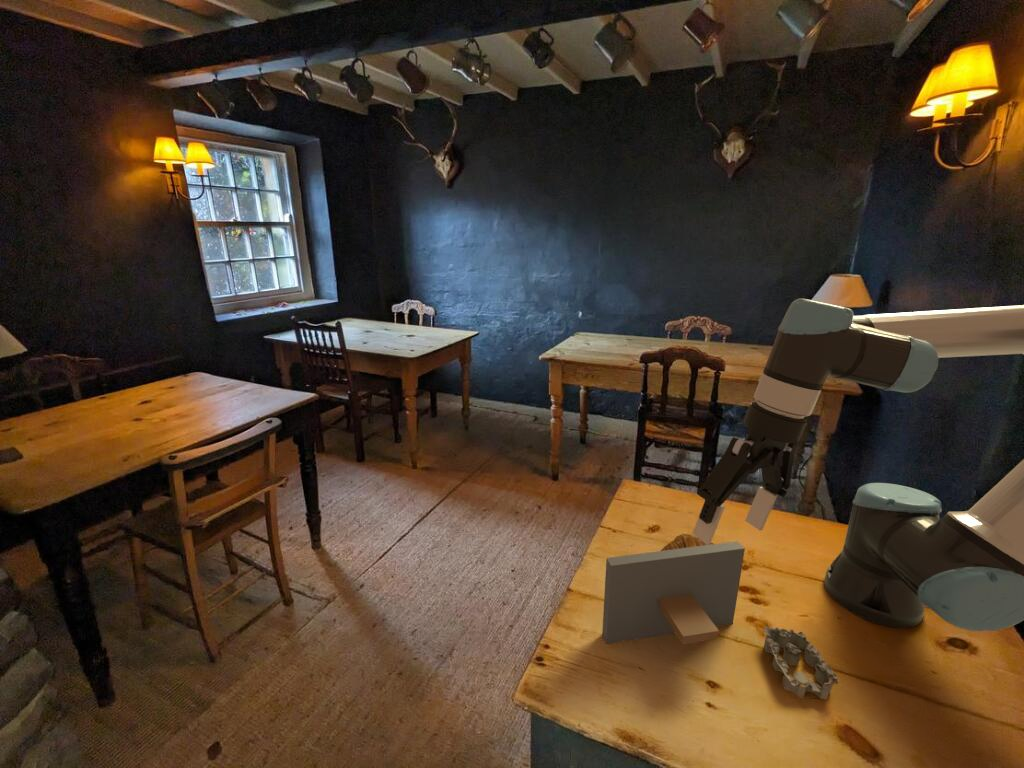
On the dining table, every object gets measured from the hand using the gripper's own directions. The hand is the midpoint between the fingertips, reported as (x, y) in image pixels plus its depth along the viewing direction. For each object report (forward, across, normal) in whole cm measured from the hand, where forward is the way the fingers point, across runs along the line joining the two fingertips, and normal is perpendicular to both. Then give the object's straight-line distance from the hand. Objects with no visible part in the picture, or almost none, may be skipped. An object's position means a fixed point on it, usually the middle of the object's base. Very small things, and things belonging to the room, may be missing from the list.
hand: (728, 531), depth 72 cm
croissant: (+22, -19, -15) cm, 33 cm away
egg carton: (+20, -11, +12) cm, 26 cm away
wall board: (+23, +1, +1) cm, 23 cm away
